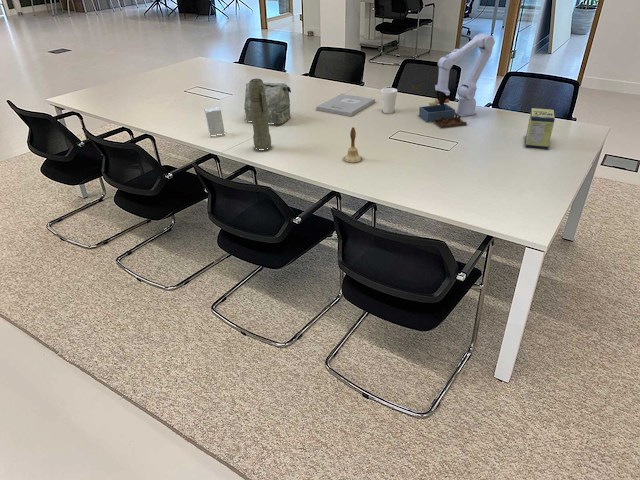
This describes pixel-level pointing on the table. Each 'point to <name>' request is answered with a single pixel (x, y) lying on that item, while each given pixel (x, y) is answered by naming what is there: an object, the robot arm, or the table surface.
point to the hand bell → (352, 149)
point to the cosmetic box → (214, 121)
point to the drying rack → (450, 122)
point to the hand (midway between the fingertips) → (440, 104)
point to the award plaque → (345, 104)
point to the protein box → (540, 128)
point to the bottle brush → (436, 102)
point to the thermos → (259, 115)
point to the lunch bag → (272, 102)
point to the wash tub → (436, 112)
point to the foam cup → (388, 99)
